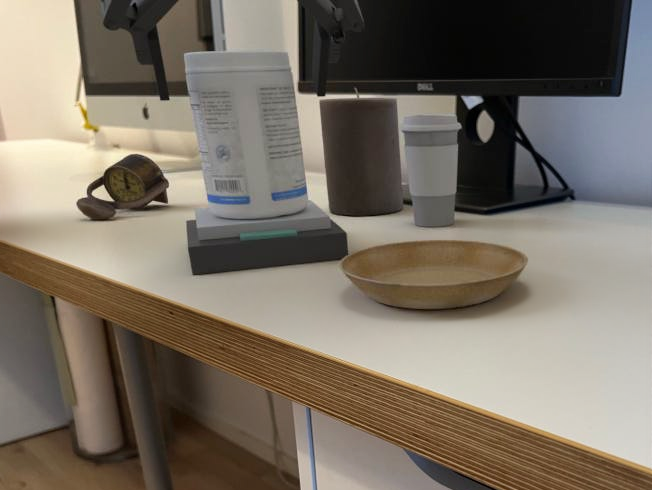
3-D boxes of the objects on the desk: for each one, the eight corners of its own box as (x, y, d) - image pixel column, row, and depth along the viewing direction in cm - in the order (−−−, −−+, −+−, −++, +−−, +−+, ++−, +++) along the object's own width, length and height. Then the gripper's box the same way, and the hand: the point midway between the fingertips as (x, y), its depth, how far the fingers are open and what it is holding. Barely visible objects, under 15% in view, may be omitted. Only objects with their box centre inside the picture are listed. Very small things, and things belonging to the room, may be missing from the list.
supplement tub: (297, 201, 75) (281, 53, 70) (319, 215, 67) (302, 49, 62) (203, 209, 72) (177, 53, 66) (214, 225, 64) (186, 49, 58)
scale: (192, 275, 62) (185, 233, 60) (190, 244, 74) (184, 208, 72) (348, 258, 66) (345, 219, 65) (322, 231, 78) (319, 198, 77)
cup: (446, 215, 86) (443, 113, 82) (475, 223, 81) (472, 115, 77) (394, 222, 83) (388, 116, 78) (421, 231, 78) (415, 117, 73)
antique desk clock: (188, 166, 94) (143, 147, 98) (95, 167, 83) (49, 146, 88) (185, 218, 97) (142, 197, 101) (95, 225, 86) (50, 202, 90)
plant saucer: (439, 259, 65) (438, 231, 64) (565, 287, 56) (566, 255, 55) (305, 293, 56) (301, 261, 55) (429, 334, 46) (427, 296, 45)
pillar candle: (347, 219, 85) (335, 88, 80) (318, 208, 93) (305, 88, 87) (417, 210, 90) (410, 86, 85) (384, 201, 98) (376, 86, 92)
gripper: (9, -142, 39) (95, 124, 58) (428, -108, 48) (385, 114, 67) (3, -223, 42) (87, 57, 60) (401, -177, 51) (368, 55, 69)
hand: (243, 87), depth 64 cm, fingers open, 13 cm apart
